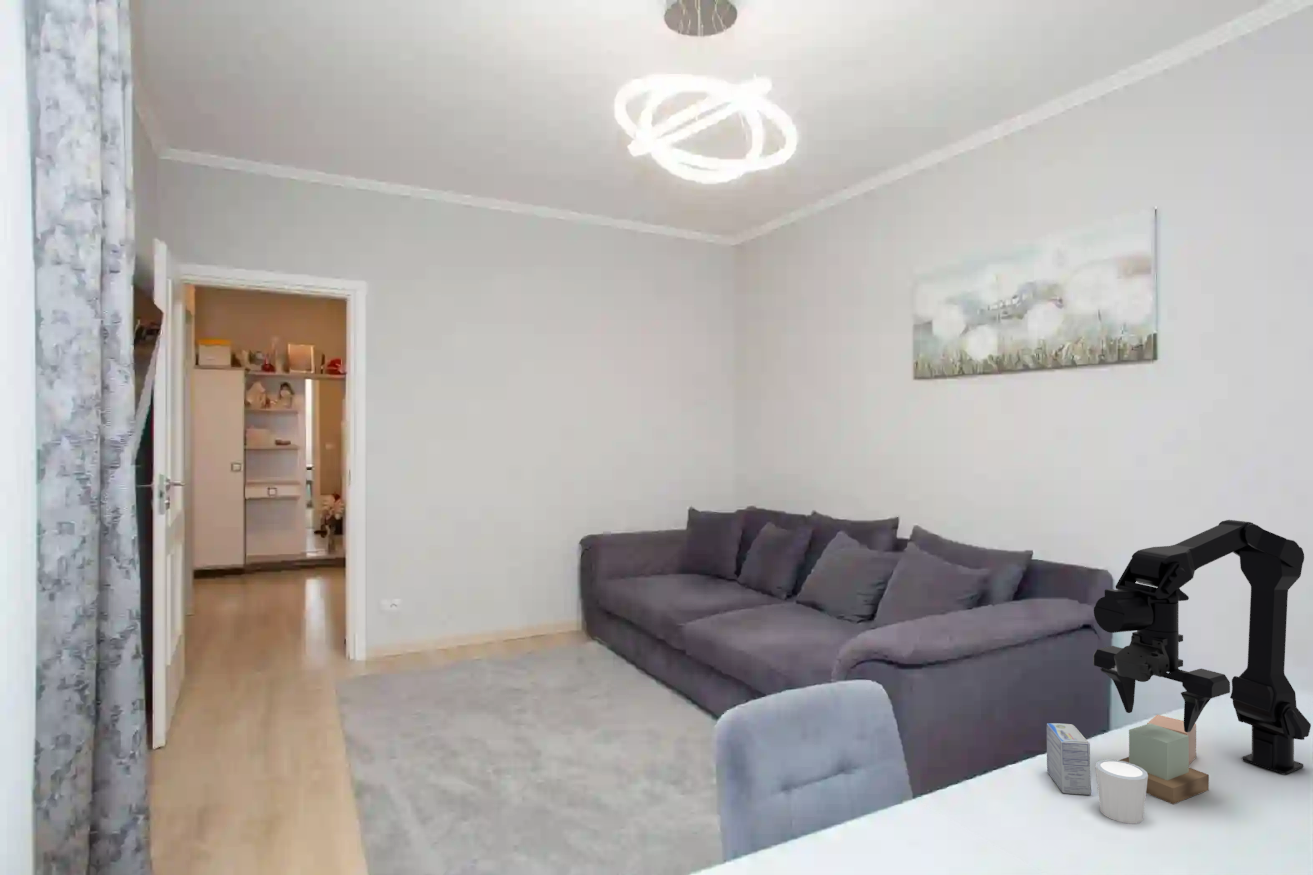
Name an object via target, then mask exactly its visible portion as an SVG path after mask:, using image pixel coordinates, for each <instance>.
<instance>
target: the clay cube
mask: <svg viewBox="0 0 1313 875" xmlns="http://www.w3.org/2000/svg"><path fill="white" fill-rule="evenodd" d="M1149 723H1151V724H1154V725H1157V726H1160V727H1163V728H1166V729H1169V730H1172V731H1175V732H1178V733H1181V734H1184V735H1187V736H1189V765H1191V763H1193V761H1194V760H1195V759H1196V758H1197V723H1195V724H1194V726H1193V728H1192V730H1191V731H1190V732H1185V731H1184V720H1181V719H1179V718H1178V719H1177V718H1173V717H1168V716H1165V715H1160V714H1156V715H1155V716H1154V717H1153V718H1151V719H1150V720H1149V721H1148V722H1146V724H1149Z"/></svg>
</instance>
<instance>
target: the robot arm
mask: <svg viewBox="0 0 1313 875" xmlns="http://www.w3.org/2000/svg"><path fill="white" fill-rule="evenodd" d="M1232 553H1233V554H1235V555H1236V556H1238V557H1239V566H1240V570H1241V573H1242V574H1243V575H1244V577H1245V578H1246V580H1247V582H1248V584H1249V585H1250V601H1249V602H1250V603H1249V604H1250V605H1249V626H1248V647H1247V666H1246V668H1245V670H1244V671H1243V672H1242V673H1241V674H1240V675H1239V676H1236V675H1235V676H1233V677H1232V679H1231V682H1230V680H1229V679H1228V677H1227V675H1226V674H1225V673H1222V672H1221V673H1220V672H1217V671H1213V670H1210V669H1204V668H1198V669H1194V670H1190V671H1186V670H1183V669H1179V668H1181V667H1184V660H1183V659H1180V658H1179V651H1180V650H1179V649H1180V648H1179V643H1181V642H1184V634H1179V632H1180V630H1179V606H1180V605H1179V602H1182V601H1183V602H1184V601H1185V602H1186V601H1188V600H1189V599H1190V597H1189V595H1188V594H1186V593H1185V592H1184V591H1182V589H1180V588H1182V587H1183V586H1184V585H1186V584H1187V583H1189V582H1190V581H1191V580H1193V579H1194V576H1195V572H1196V570H1198V569H1200V568H1201V567H1204V566H1206V565H1208V564H1211V563H1212V562H1215V561H1217V560H1219V559H1221V558H1223V557H1225V556H1227V555H1229V554H1232ZM1304 561H1305V552H1304V549H1303V548H1302V547H1300V546H1299V544H1298V543H1297V541H1295V540H1294V539H1288V538H1286V537H1283V536H1280V535H1278V534H1276V533H1273V532H1271V531H1269V530H1266V529H1264V528H1262V527H1261V526H1259V525H1257V524H1255V523H1253V522H1251V521H1243V520H1235V519H1226V520H1222V521H1220V522H1219V523H1218V525H1216V526H1214V527H1212V528H1209V529H1207V530H1203V532H1200V533H1198V534H1195V535H1194V536H1191V537H1189V538H1187V539H1184V540H1182V541H1180V542H1177V543H1175V544H1171V545H1165V546H1164V545H1163V546H1151V547H1147V548H1143V549H1138V550H1137V551H1135V552H1134V553H1133V554H1132V555H1131V559H1130V560H1129V562H1128V564H1127V566H1126V568H1125V569H1124V570H1123V573H1122V574H1121V576H1120V578H1119V579H1118V581H1117V583H1116V585H1115V589H1113V588H1106V589H1105V590H1104V596H1101V597H1100V598H1099V599H1098V600H1097V601H1096V602H1095V606H1094V607H1093V616H1094V619H1095V621H1096V623H1097V624H1098V626H1099V627H1100V628H1101V629H1102V630H1103V631H1105V632H1106V633H1109V634H1110V633H1112V634H1115V633H1124V632H1131V633H1132V634H1131V638H1130V643H1129V644H1128V645H1125V646H1124V647H1119V646H1115V645H1110V646H1107V647H1106V646H1105V647H1102V648H1097V649H1095V651H1094V652H1093V654H1092V665H1093V666H1094V667H1098V668H1099V669H1100V671H1101V673H1103V674H1106V675H1107V676H1108V677H1109V678H1110V679H1111V680H1112V682H1113V683H1114V685H1115V688H1116V689H1117V692H1118V694H1119V695H1118V696H1119V698H1120V700H1121V702H1122V705H1123V708H1124V710H1125V712H1126V714H1130V713H1133V710H1134V709H1133V708H1134V704H1135V692H1136V691H1135V690H1136V681H1137V682H1141V683H1145V682H1148V681H1149V680H1151V678H1152V677H1153V676H1155V677H1159V678H1164V679H1168V680H1172V681H1175V682H1180V683H1181V686H1182V688H1184V689H1185V691H1182V692H1180V695H1181V697H1182V699H1183V701H1184V704H1183V708H1184V709H1183V721H1184V731H1185V732H1190V731H1191V730H1192V728H1193V726H1194V724H1197V721H1198V719H1199V717H1200V716H1201V713H1202V712H1203V710H1204V709H1205V707H1206V705H1208V703H1209V702H1210V701H1211V699H1213V698H1217V697H1220V696H1224V695H1227V694H1231V695H1229V697H1230V699H1231V701H1232V705H1233V708H1234V710H1235V713H1236V717H1237V720H1238V722H1240V723H1244V724H1247V725H1250V726H1251V753H1249V754H1247V755H1244V756H1242V757H1241V760H1242V761H1244V762H1246V763H1250V764H1253V765H1256V766H1258V767H1262V768H1265V769H1267V770H1271V771H1274V772H1276V773H1280V774H1283V775H1288V774H1291V773H1293V772H1295V771H1297V770H1300V769H1302V768H1304V763H1302V762H1299V761H1296V760H1295V740H1301V741H1304V740H1305V738H1307V737H1309V735H1310V732H1311V726H1312V725H1311V723H1310V721H1309V720H1308V719H1307V718H1306V717H1305V716H1304V714H1303V713H1302V712H1301V711H1300V710H1299V708H1298V707H1297V698H1296V691H1295V689H1294V688H1293V686H1292V685H1291V683H1290V681H1289V679H1288V678H1287V676H1286V675H1285V664H1286V661H1285V660H1286V659H1285V658H1286V639H1287V617H1288V594H1289V589H1291V588H1292V586H1294V584H1295V583H1296V582H1297V581H1298V580H1299V579H1300V577H1301V575H1302V569H1303V564H1304Z"/></svg>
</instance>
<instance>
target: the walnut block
mask: <svg viewBox="0 0 1313 875" xmlns="http://www.w3.org/2000/svg"><path fill="white" fill-rule="evenodd" d="M1119 761H1124V762H1128V763H1129V756H1127V757H1125V758H1121V759H1119ZM1147 774H1148V780H1147V789H1146V795H1150V796H1152V797H1155V798H1157V799H1159V800H1162V801H1164V802H1167V803H1169V804H1172V805H1175V804H1177V803H1180V802H1182V801H1185V800H1187V799H1189V798H1192V797H1194V796H1197V795H1199V794H1202V793H1204V792H1207V791H1209V790H1210V788H1209V787H1210V782H1209V779H1210V776H1209V774H1207V773H1205V772H1203V771H1200V770H1197V769H1194V768H1192V767H1189V772H1188V773H1186V774H1183V775H1180V776H1178V777H1175V778H1172V779H1170V780H1165V779H1162V778H1160V777H1157V776H1155V775H1152V774H1150V773H1147Z"/></svg>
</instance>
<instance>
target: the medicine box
mask: <svg viewBox="0 0 1313 875" xmlns="http://www.w3.org/2000/svg"><path fill="white" fill-rule="evenodd" d="M1046 769H1047V770H1046V771H1047V773H1048V775H1049V776H1050V777H1051V779H1052V780H1053V782H1054V783H1055V784H1056V786H1057V787H1058V788H1059V789H1060V791H1061V793H1062V794H1069V795H1080V796H1081V795H1083V796H1084V795H1085V796H1090V795H1091V794H1092V788H1091V787H1092V785H1091V782H1092V781H1091V779H1092V777H1091V743H1090V742H1089V741H1088V740H1087V738H1086V737H1084V735H1083V734H1082V733H1081V732H1080V731H1079V729H1078V728H1077V727H1076V726H1075V725H1074V724H1070V723H1059V722H1058V723H1057V722H1053V723H1052V722H1051V723H1049V722H1047V723H1046Z"/></svg>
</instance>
